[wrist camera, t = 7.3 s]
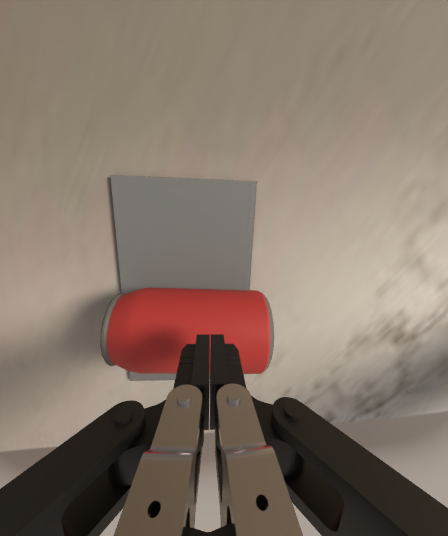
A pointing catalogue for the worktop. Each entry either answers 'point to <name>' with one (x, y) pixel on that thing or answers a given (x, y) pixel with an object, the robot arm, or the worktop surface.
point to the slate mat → (183, 235)
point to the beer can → (185, 327)
